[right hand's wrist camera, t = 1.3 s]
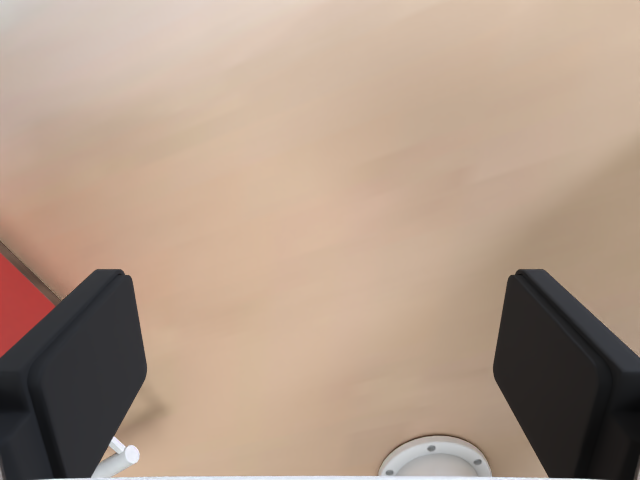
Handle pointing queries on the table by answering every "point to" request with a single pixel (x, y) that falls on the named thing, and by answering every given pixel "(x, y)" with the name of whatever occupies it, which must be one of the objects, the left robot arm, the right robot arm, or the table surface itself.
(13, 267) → the red box
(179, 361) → the table surface
